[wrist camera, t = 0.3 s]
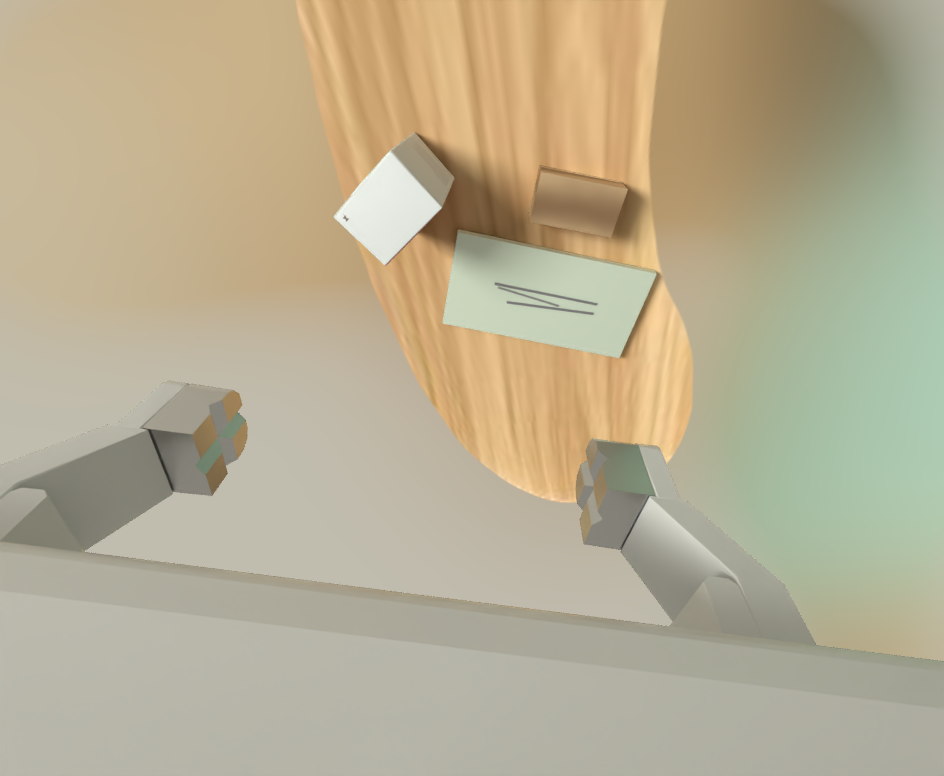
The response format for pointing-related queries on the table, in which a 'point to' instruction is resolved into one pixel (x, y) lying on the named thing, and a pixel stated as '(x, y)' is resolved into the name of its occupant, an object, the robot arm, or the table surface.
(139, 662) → the robot arm
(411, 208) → the small box
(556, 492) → the table surface
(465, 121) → the table surface
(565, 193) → the block
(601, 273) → the board
